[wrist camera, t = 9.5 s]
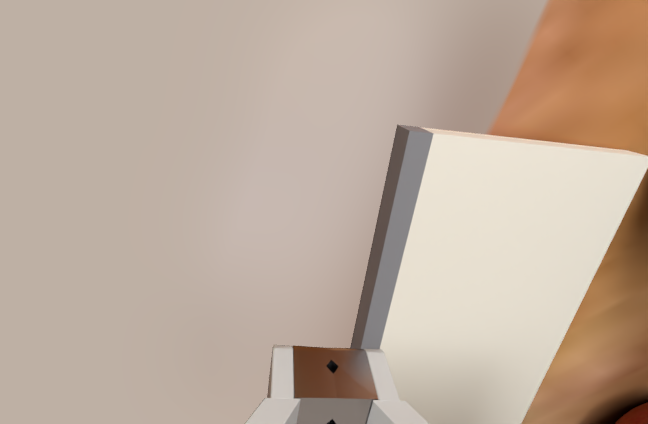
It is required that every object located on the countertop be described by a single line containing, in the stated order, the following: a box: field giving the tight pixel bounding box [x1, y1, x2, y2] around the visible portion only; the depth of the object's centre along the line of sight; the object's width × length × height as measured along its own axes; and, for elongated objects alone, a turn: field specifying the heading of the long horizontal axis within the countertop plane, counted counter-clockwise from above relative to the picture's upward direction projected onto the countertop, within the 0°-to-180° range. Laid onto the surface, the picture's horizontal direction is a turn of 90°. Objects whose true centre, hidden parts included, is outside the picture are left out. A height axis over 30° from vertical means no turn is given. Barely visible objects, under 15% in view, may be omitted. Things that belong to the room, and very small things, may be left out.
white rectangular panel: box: [351, 125, 648, 424], centre depth 16 cm, size 19×1×10 cm
